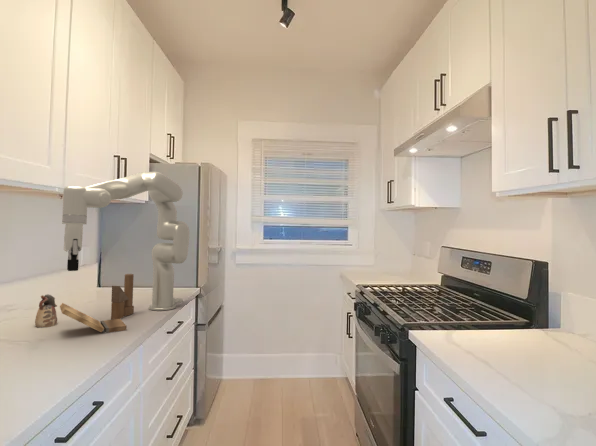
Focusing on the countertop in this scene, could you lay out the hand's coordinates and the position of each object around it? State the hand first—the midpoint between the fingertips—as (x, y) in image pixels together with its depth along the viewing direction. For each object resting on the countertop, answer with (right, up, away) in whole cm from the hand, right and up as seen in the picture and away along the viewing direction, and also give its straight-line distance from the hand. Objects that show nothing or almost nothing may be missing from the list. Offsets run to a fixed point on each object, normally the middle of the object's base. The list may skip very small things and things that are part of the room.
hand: (72, 270), depth 127 cm
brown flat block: (+10, -24, +8) cm, 27 cm away
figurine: (-16, -23, +9) cm, 30 cm away
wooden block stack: (+6, -24, +25) cm, 35 cm away
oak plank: (+2, -18, +2) cm, 19 cm away
